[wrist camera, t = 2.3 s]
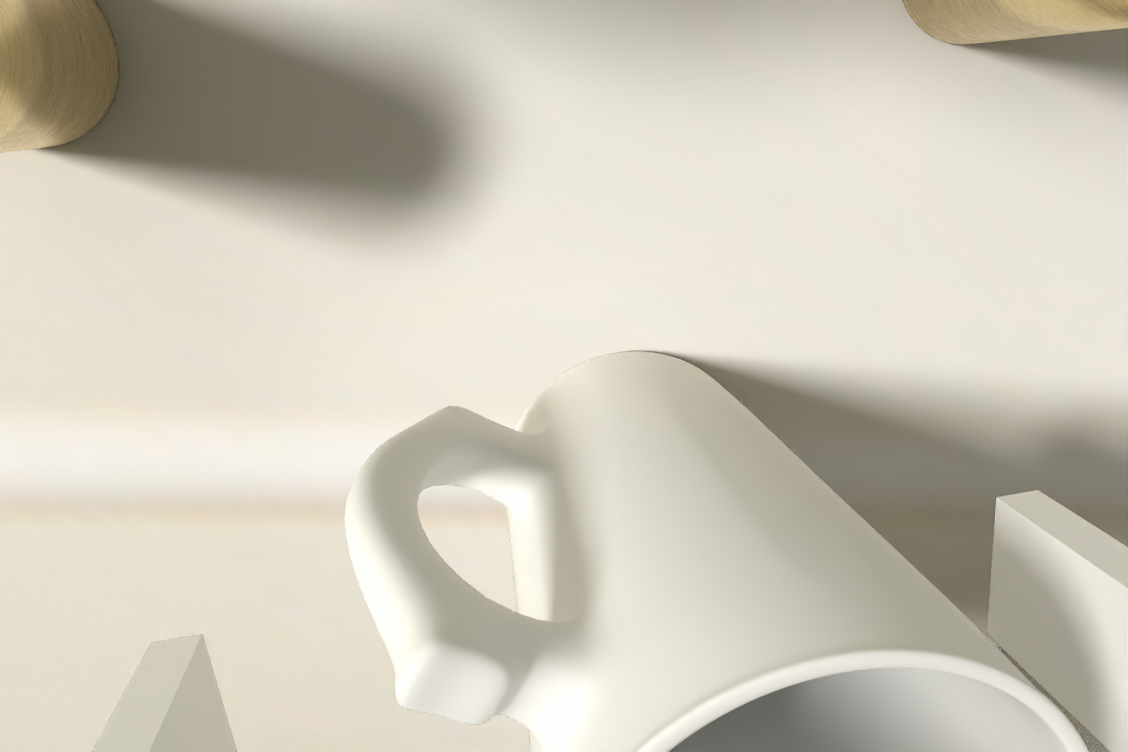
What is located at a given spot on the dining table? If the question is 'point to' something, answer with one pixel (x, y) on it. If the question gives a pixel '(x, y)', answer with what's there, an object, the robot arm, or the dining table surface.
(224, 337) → the dining table surface
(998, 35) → the spacer posts
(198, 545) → the dining table surface
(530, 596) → the mug
